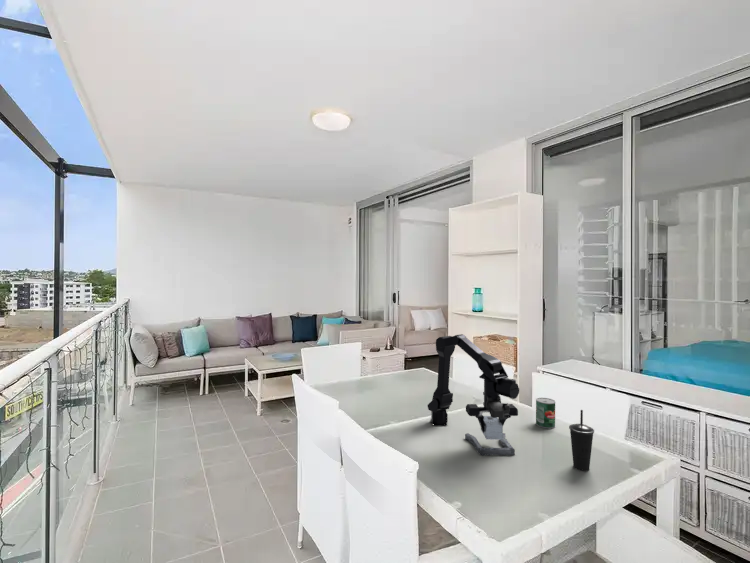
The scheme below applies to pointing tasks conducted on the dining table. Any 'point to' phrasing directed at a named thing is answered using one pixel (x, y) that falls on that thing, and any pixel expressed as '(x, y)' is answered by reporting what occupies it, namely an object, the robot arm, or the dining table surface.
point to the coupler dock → (491, 451)
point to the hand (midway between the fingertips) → (491, 431)
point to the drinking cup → (581, 444)
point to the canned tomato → (545, 412)
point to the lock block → (493, 428)
